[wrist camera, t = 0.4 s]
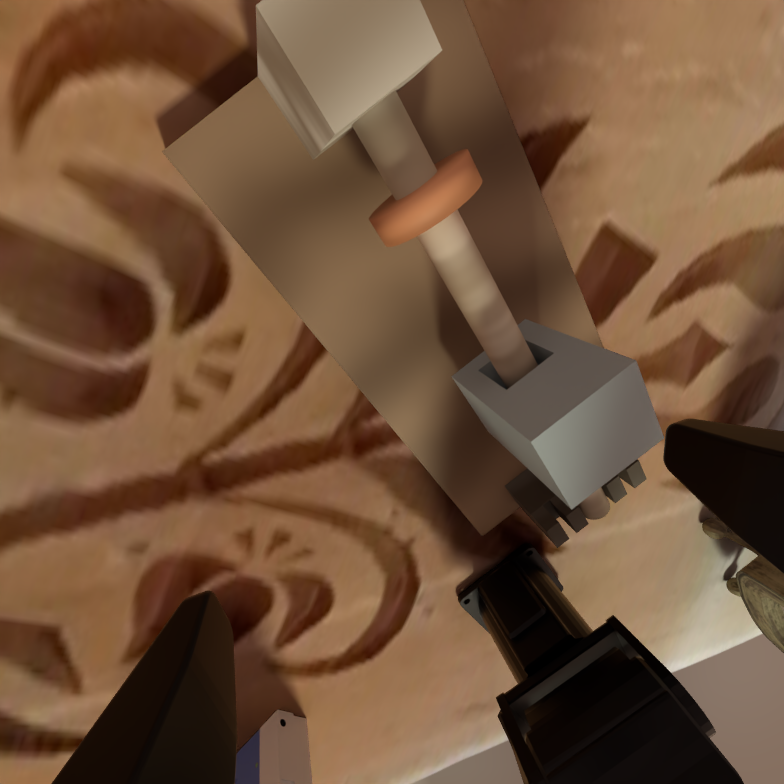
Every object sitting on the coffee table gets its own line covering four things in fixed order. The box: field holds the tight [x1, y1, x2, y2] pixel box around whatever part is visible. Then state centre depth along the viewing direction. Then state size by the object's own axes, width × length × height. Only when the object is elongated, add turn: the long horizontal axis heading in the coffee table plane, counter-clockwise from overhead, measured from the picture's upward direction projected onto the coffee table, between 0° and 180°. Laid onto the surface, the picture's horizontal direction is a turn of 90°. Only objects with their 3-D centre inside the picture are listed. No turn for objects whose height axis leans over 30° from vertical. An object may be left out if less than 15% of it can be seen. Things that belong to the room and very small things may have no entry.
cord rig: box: [162, 0, 646, 548], centre depth 18 cm, size 25×12×6 cm, turn 34°
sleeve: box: [451, 319, 664, 509], centre depth 17 cm, size 4×4×6 cm
